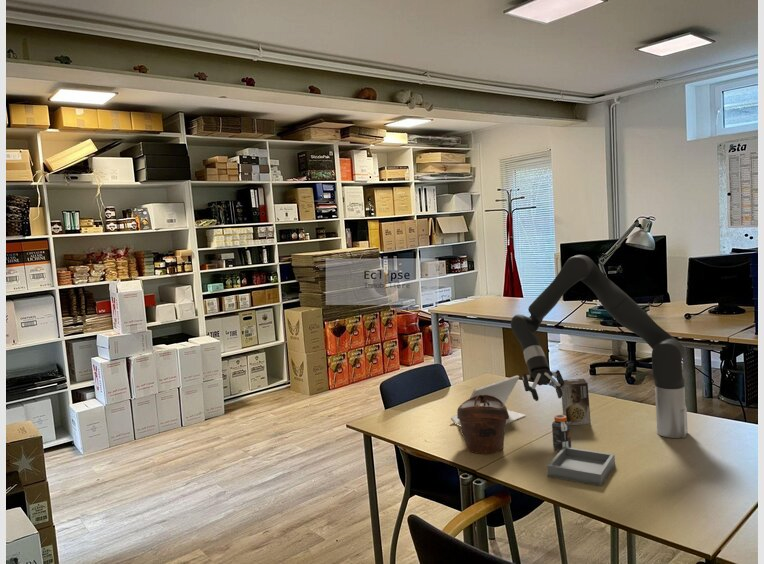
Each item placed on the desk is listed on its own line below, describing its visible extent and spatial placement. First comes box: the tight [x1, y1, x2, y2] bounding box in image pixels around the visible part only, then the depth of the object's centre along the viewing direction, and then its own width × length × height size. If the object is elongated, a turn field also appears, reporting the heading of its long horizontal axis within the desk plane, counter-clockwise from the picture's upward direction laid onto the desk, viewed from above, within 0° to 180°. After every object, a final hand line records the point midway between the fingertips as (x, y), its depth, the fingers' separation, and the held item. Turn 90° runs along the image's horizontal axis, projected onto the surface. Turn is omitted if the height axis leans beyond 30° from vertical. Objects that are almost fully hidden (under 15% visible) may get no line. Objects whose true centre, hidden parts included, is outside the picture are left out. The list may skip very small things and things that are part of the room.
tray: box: [546, 447, 616, 487], centre depth 179 cm, size 16×16×4 cm
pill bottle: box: [551, 414, 572, 452], centre depth 198 cm, size 6×6×11 cm
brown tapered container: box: [456, 395, 509, 455], centre depth 205 cm, size 18×20×18 cm
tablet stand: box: [450, 375, 526, 425], centre depth 232 cm, size 18×25×17 cm
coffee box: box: [561, 378, 592, 426], centre depth 220 cm, size 9×6×16 cm
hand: (548, 398), depth 207 cm, fingers open, 8 cm apart
